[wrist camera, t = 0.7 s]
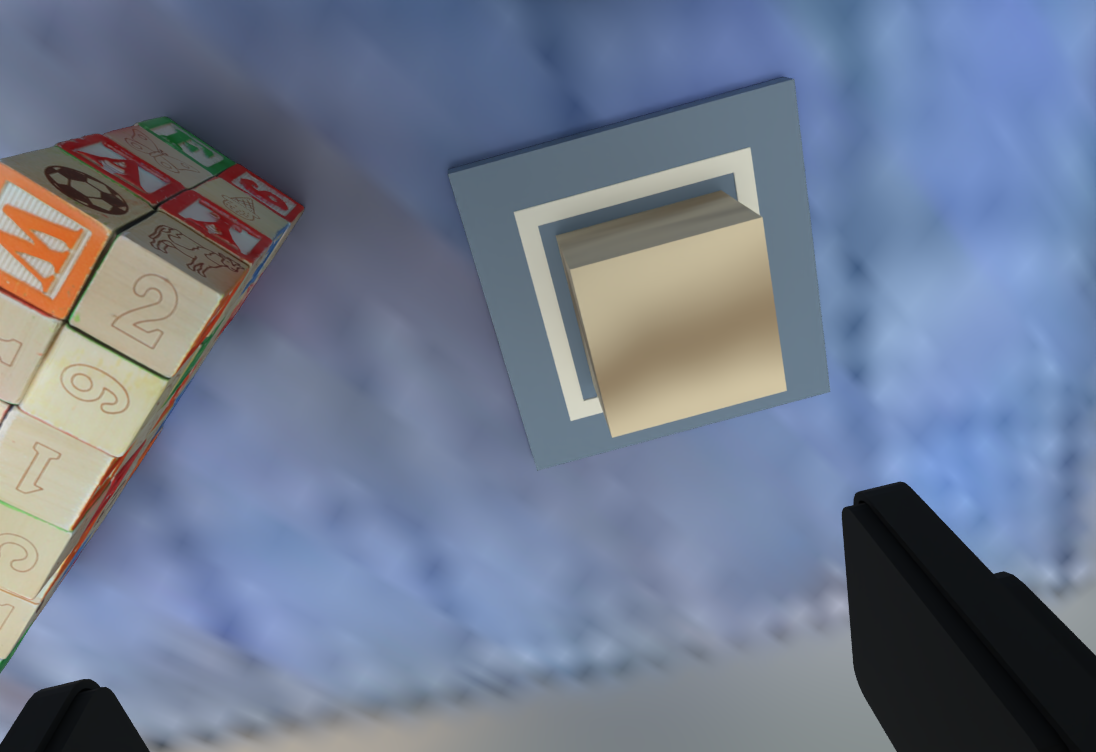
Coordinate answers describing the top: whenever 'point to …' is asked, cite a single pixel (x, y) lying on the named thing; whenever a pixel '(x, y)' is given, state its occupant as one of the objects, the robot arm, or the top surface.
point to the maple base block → (675, 310)
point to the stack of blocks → (108, 325)
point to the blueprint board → (621, 190)
